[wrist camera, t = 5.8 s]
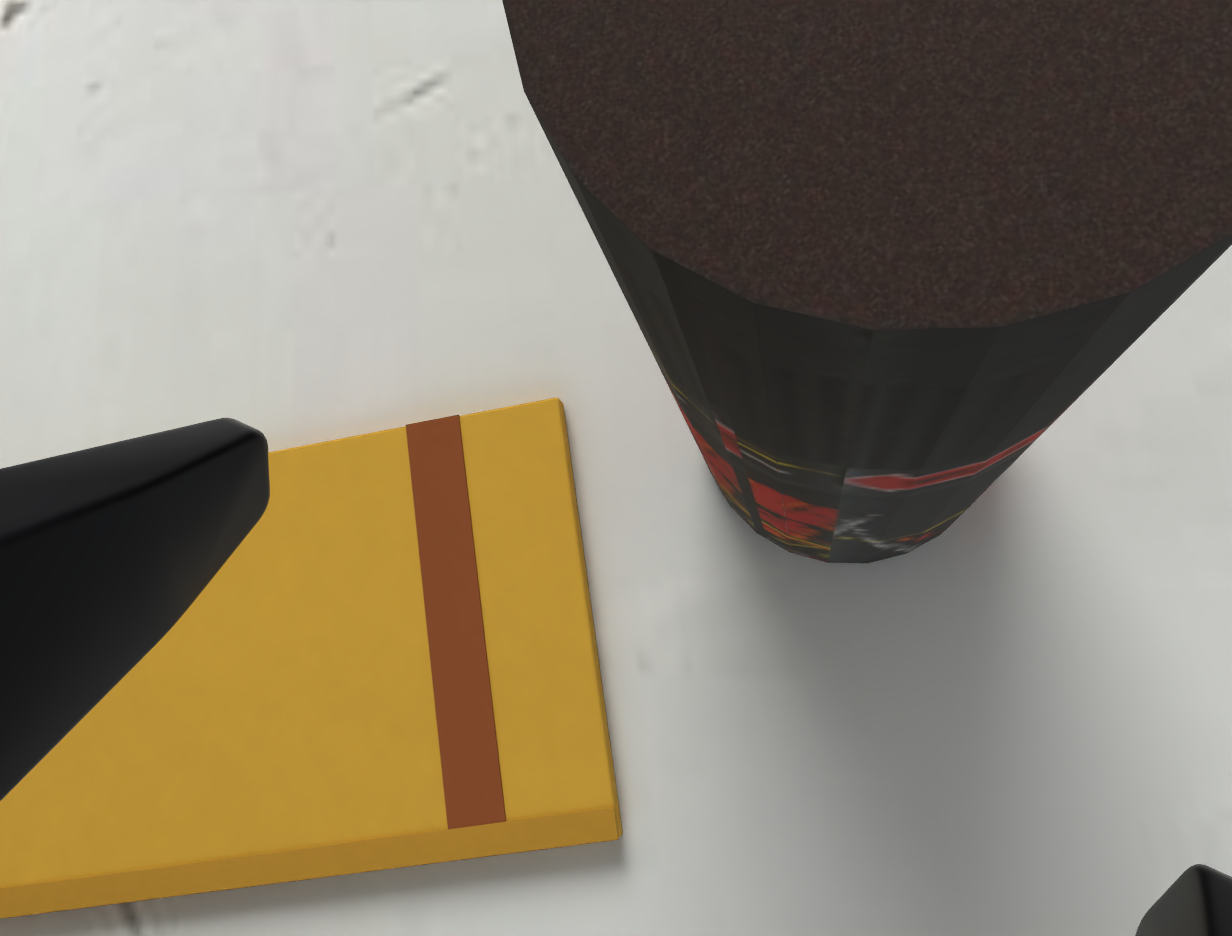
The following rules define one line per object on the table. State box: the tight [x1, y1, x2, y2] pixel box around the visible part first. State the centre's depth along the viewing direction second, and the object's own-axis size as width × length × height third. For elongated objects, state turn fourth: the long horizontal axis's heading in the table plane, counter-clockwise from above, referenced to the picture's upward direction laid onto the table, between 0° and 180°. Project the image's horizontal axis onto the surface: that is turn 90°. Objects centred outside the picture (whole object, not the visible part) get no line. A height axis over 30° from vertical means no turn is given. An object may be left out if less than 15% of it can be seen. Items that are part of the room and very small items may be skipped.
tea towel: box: [0, 398, 622, 919], centre depth 23 cm, size 9×20×1 cm, turn 98°
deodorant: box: [502, 0, 1232, 563], centre depth 14 cm, size 6×6×15 cm
